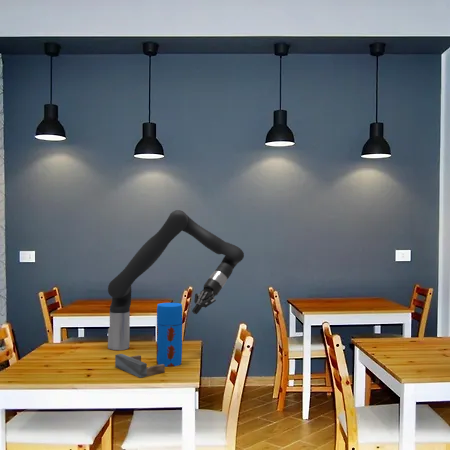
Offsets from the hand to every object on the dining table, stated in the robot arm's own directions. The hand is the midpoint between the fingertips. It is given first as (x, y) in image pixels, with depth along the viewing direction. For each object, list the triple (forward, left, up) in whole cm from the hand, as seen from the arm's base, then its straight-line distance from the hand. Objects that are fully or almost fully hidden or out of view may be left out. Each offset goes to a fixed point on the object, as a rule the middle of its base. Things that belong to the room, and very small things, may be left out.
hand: (194, 312), depth 236 cm
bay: (-18, -21, -20) cm, 34 cm away
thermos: (-9, -10, -20) cm, 24 cm away
